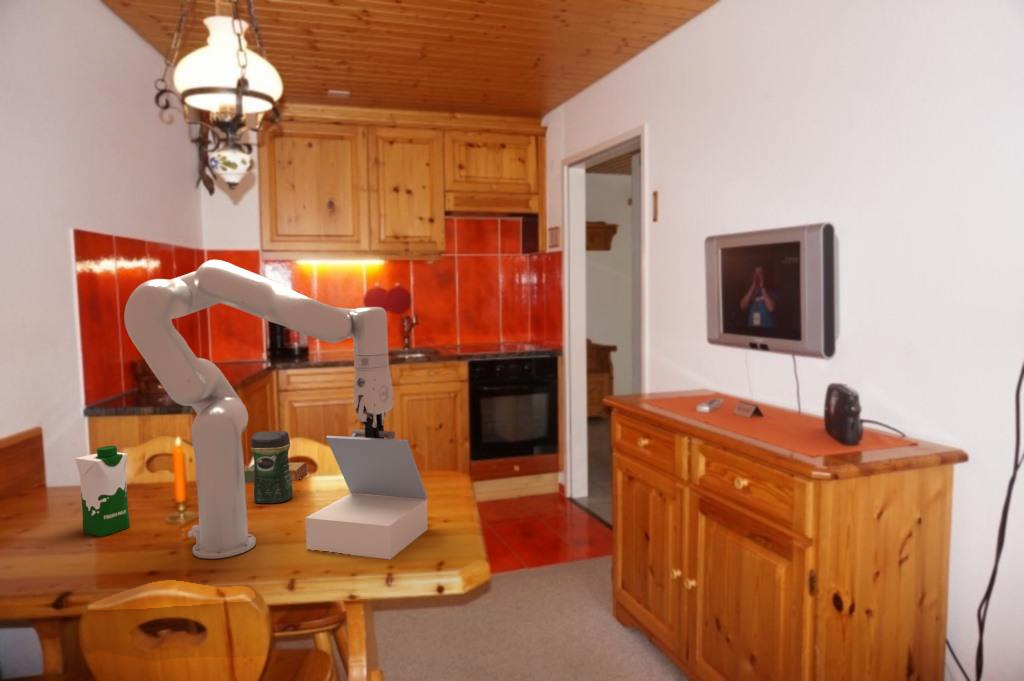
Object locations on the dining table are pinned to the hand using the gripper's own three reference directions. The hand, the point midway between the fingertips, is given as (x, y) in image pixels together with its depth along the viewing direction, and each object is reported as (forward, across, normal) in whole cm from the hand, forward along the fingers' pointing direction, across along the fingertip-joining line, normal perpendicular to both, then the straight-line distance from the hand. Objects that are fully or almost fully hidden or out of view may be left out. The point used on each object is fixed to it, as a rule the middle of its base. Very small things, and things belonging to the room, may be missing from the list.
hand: (374, 443), depth 152 cm
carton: (+21, +33, +54) cm, 66 cm away
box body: (+21, -4, 0) cm, 21 cm away
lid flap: (+6, +1, 0) cm, 6 cm away
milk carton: (+21, -15, +64) cm, 69 cm away
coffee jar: (+21, +15, +40) cm, 48 cm away
